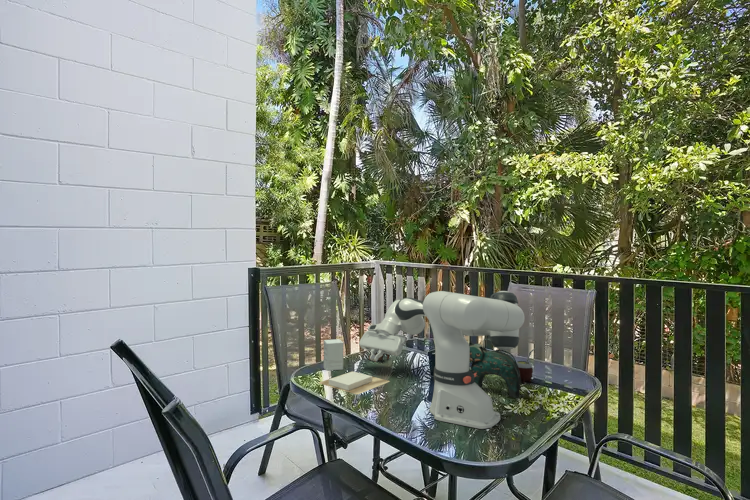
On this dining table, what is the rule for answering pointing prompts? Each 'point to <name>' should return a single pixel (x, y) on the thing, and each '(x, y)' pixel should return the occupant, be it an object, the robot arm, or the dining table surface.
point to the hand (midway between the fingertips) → (373, 360)
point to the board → (360, 389)
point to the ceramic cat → (495, 367)
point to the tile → (350, 380)
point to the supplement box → (333, 354)
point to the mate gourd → (525, 370)
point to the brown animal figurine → (380, 357)
